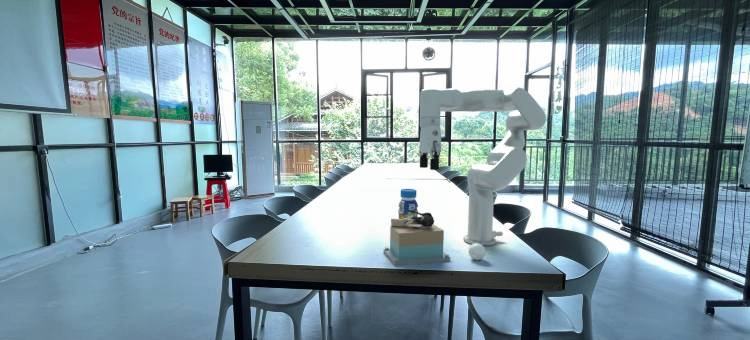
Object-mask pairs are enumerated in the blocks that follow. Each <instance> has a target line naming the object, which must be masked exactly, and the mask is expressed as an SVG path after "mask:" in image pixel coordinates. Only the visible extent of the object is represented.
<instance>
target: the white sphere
mask: <svg viewBox="0 0 750 340" xmlns="http://www.w3.org/2000/svg"><path fill="white" fill-rule="evenodd" d="M486 254H491V253H490V252H489V253H487V252H486V249H485V246H482V245H481V244H478V243H475V244H470V246H469V248H468V255H469V256H470V258H471V259H473V260H475V261H481V260H483V259H484V258H485V256H486Z"/></svg>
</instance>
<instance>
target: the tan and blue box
mask: <svg viewBox="0 0 750 340" xmlns="http://www.w3.org/2000/svg"><path fill="white" fill-rule="evenodd" d="M420 226H422V225H419V224H418V225H416V224H412V225H409V226H402V227H400V226H391V225H390V228H389V242H390V243H389V244H390V245H389V247H386V246H385V247H384V248H383V254H384V255H385V256H386V257H387V258H388V260H389V261H390V262H391V263H392V265H393V266H395V267H396V266H405V265H416V264H417V265H418V264H426V263H428V264H429V263H439V262H440V263H441V262H450V261H451V256H450V254H448V253H446V252H444V237H445V235H444V234H445V231H444V230H443V228H441V227H438V225H435V223H434V224H433V225H432V227H430V228H428V227H421V228H419V227H420ZM412 227H418V228H419V229H417V228H412Z"/></svg>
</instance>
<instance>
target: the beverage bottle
mask: <svg viewBox="0 0 750 340" xmlns="http://www.w3.org/2000/svg"><path fill="white" fill-rule="evenodd" d="M400 198H401V199H400V201H399V203H398V211H397V213H398V219H404V218H407V219H410V218H412V217H413V218H415V217H414V216H416V217H419V216H418V215H419V214H416V213H411V212H412V211H415V212H417V211H418V212H419V210H418V207H419V205H418V204H419V203H418V202H417V200H416V198H417V189H415V188H402V189H400ZM409 225H412V224H409Z"/></svg>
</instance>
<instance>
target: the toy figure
mask: <svg viewBox="0 0 750 340" xmlns="http://www.w3.org/2000/svg"><path fill="white" fill-rule="evenodd" d="M411 213H416V214H418V215H419V216H418V217H416V216H414V217H415V218H413V217H412V218H410V219H407V218H404V219H399V218H390V226H400V227H402V226H409V224H416V225H418V224H419V225H422V226H420V227H419V228H421V227H428V228H430V227H432V225H433V224H434V225H435V219H434V216H433V214H432V213H431V212H430V211H429V212H420V211H419V210H418V211H417V212H415V211H412V212H411ZM412 228H417V229H419V228H418V227H412Z"/></svg>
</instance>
